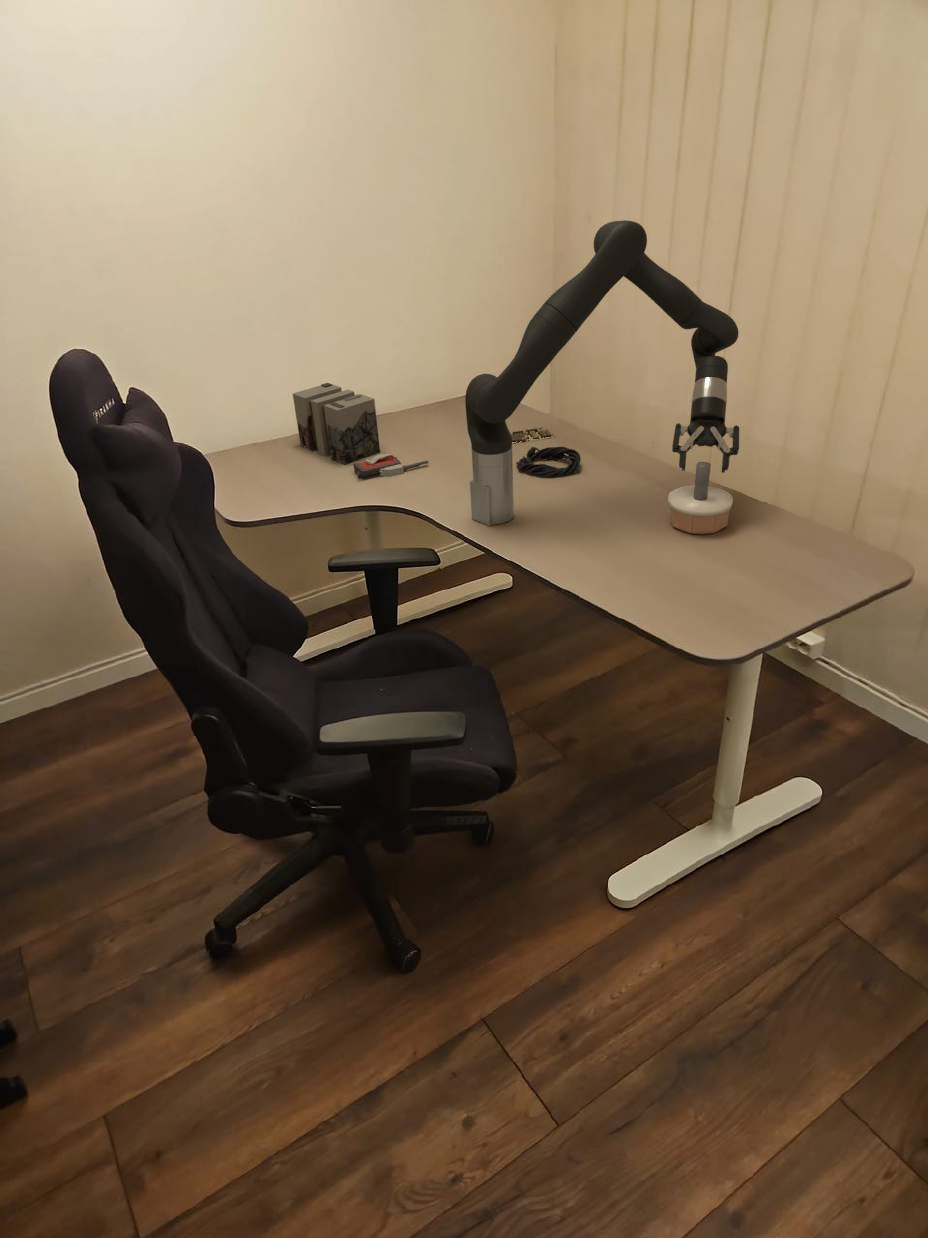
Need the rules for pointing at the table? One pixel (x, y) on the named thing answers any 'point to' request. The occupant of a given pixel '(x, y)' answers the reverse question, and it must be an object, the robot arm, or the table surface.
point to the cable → (550, 454)
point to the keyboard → (523, 436)
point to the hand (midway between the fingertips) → (703, 470)
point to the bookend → (337, 423)
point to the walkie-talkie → (382, 467)
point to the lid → (700, 496)
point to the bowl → (699, 522)
